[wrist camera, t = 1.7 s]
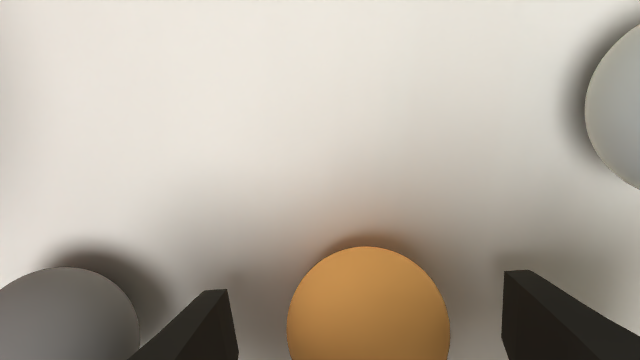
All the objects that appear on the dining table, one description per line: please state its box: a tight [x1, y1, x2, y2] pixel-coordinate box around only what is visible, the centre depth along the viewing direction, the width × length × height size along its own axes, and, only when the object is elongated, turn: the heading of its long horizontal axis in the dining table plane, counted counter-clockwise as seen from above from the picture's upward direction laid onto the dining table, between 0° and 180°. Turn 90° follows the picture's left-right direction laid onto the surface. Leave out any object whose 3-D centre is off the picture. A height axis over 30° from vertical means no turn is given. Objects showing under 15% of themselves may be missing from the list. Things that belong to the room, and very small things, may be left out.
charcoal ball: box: [0, 267, 140, 360], centre depth 12 cm, size 4×4×4 cm
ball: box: [286, 246, 450, 360], centre depth 12 cm, size 4×4×4 cm
